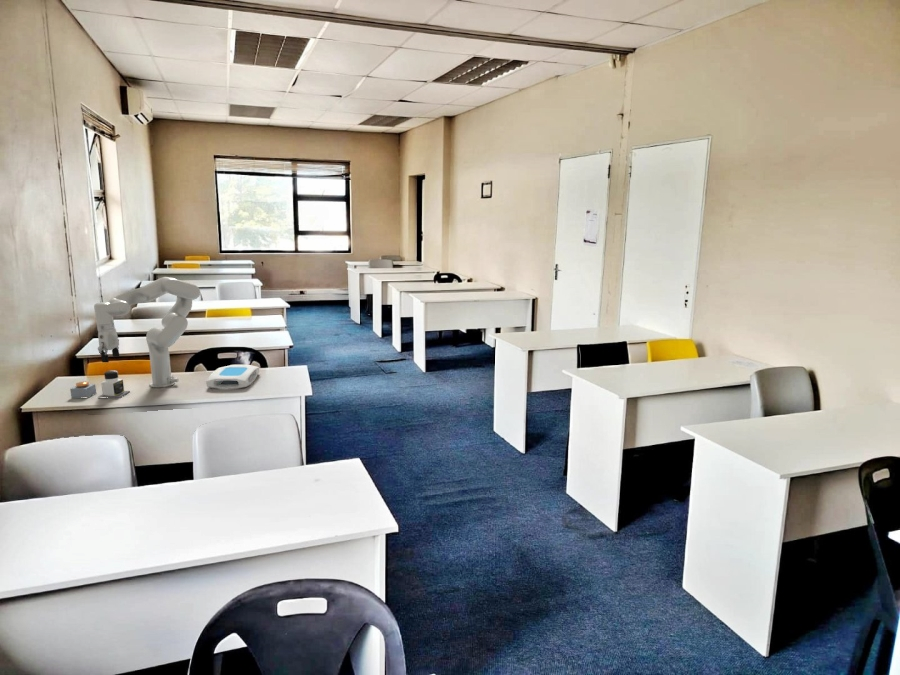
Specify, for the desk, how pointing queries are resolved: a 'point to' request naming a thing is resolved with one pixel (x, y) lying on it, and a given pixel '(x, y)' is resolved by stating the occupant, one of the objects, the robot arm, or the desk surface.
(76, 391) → the release housing
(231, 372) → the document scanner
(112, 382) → the medicine bottle
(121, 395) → the mat
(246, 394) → the desk surface
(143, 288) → the robot arm
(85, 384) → the release plunger
